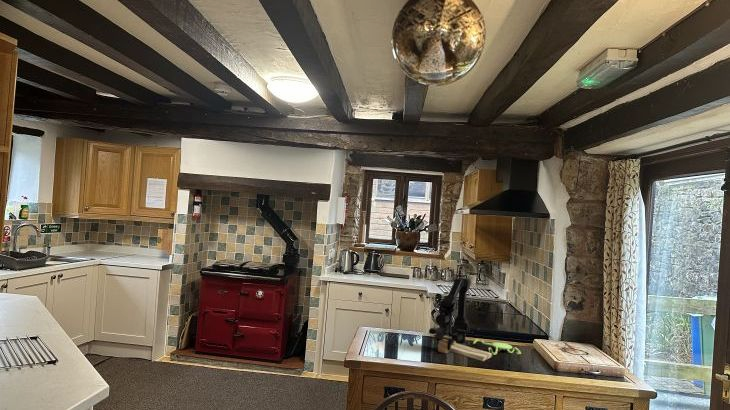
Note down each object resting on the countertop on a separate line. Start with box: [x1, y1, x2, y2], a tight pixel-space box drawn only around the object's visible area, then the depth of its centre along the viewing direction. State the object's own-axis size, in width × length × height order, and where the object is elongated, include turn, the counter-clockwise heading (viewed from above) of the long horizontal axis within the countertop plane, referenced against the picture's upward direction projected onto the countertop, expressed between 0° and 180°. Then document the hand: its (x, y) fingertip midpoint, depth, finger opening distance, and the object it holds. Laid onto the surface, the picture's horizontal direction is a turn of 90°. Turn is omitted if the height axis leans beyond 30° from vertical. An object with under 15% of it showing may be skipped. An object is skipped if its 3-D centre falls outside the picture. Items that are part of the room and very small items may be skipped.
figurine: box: [472, 338, 522, 356], centre depth 280 cm, size 18×26×6 cm
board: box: [449, 342, 493, 362], centre depth 271 cm, size 12×28×2 cm, turn 52°
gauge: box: [437, 338, 457, 354], centre depth 273 cm, size 16×5×6 cm, turn 142°
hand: (444, 349), depth 269 cm, fingers closed on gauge, 5 cm apart
